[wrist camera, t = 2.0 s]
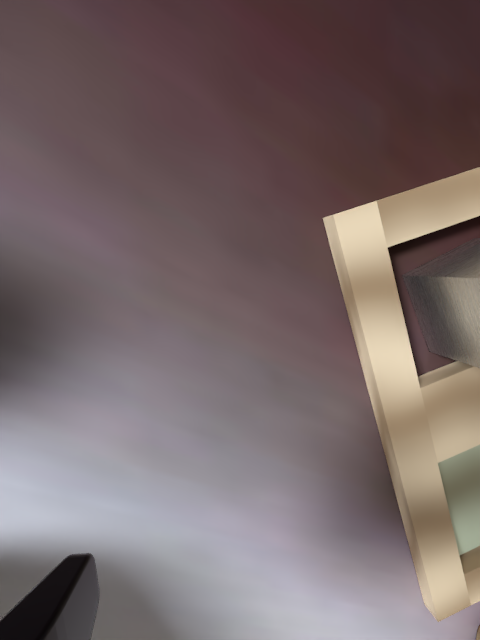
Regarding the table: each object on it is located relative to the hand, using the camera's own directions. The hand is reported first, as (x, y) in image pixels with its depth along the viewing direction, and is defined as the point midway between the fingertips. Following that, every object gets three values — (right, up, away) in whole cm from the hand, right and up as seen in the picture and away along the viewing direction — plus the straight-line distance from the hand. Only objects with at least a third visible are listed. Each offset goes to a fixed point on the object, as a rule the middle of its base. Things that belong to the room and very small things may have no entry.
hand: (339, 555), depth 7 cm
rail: (+11, 0, +15) cm, 19 cm away
